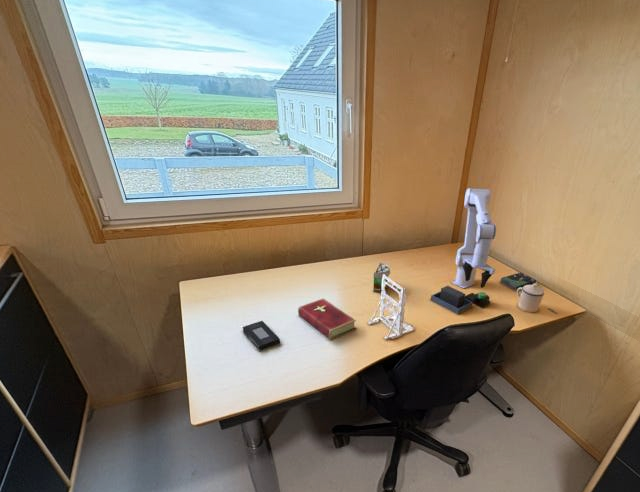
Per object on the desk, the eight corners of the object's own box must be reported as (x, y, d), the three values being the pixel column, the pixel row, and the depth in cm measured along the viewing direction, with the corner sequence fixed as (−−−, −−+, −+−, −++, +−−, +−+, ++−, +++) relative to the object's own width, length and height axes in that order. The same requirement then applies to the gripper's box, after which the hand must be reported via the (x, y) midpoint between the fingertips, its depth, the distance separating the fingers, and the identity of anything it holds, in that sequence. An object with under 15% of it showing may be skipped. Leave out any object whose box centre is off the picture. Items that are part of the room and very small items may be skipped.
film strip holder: (417, 331, 139) (423, 284, 128) (387, 341, 132) (391, 293, 121) (395, 313, 148) (399, 269, 137) (366, 322, 141) (368, 276, 131)
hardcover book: (329, 340, 130) (329, 330, 128) (298, 315, 142) (297, 306, 140) (355, 328, 137) (355, 319, 135) (323, 306, 150) (323, 297, 147)
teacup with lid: (542, 309, 159) (551, 286, 152) (529, 314, 154) (537, 290, 148) (521, 298, 167) (527, 275, 161) (507, 302, 162) (514, 279, 156)
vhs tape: (259, 351, 122) (259, 346, 121) (243, 331, 131) (242, 326, 130) (280, 343, 127) (279, 338, 126) (262, 325, 136) (262, 320, 134)
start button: (480, 294, 161) (481, 291, 160) (487, 297, 158) (488, 294, 157) (476, 296, 158) (476, 293, 157) (483, 300, 156) (483, 296, 155)
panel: (471, 295, 166) (473, 288, 164) (490, 304, 160) (492, 297, 158) (463, 299, 162) (464, 292, 160) (482, 308, 156) (484, 301, 154)
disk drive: (518, 277, 187) (499, 282, 179) (520, 272, 185) (501, 277, 178) (535, 285, 180) (516, 291, 172) (537, 280, 178) (517, 286, 171)
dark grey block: (445, 297, 162) (447, 285, 159) (463, 306, 157) (465, 294, 153) (439, 300, 160) (441, 288, 156) (456, 309, 154) (459, 297, 151)
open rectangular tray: (444, 293, 166) (445, 289, 164) (472, 307, 157) (473, 302, 155) (430, 300, 160) (431, 295, 158) (457, 314, 151) (458, 309, 149)
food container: (386, 295, 161) (387, 275, 156) (372, 293, 162) (373, 273, 157) (391, 283, 171) (392, 263, 166) (378, 281, 172) (379, 262, 167)
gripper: (460, 250, 148) (455, 279, 155) (491, 261, 139) (483, 292, 146) (471, 246, 152) (465, 275, 159) (500, 257, 143) (493, 288, 150)
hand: (474, 283), depth 153 cm, fingers open, 7 cm apart
